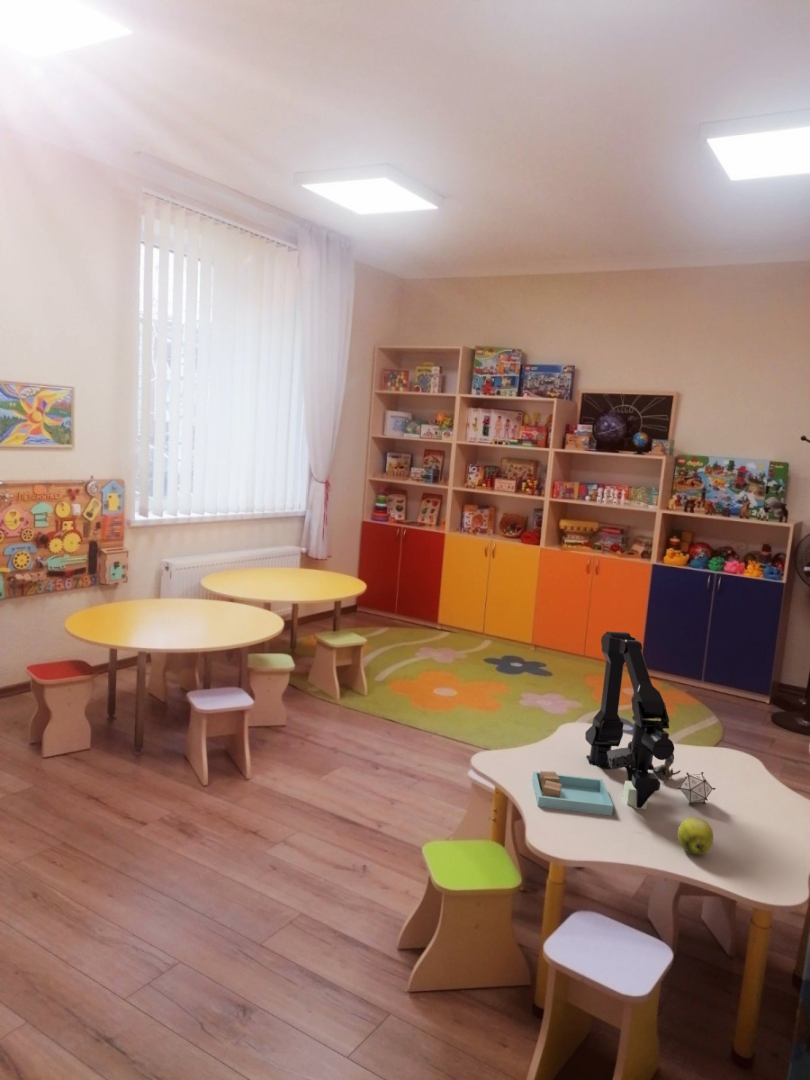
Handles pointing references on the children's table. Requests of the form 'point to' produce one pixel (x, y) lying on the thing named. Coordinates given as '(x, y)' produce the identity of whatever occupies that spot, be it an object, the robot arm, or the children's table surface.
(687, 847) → the apple
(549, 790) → the walnut block
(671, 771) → the eagle figurine
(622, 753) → the robot arm
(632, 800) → the sage block
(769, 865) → the children's table surface
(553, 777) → the walnut block
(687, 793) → the game die
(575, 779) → the tray
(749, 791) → the children's table surface
